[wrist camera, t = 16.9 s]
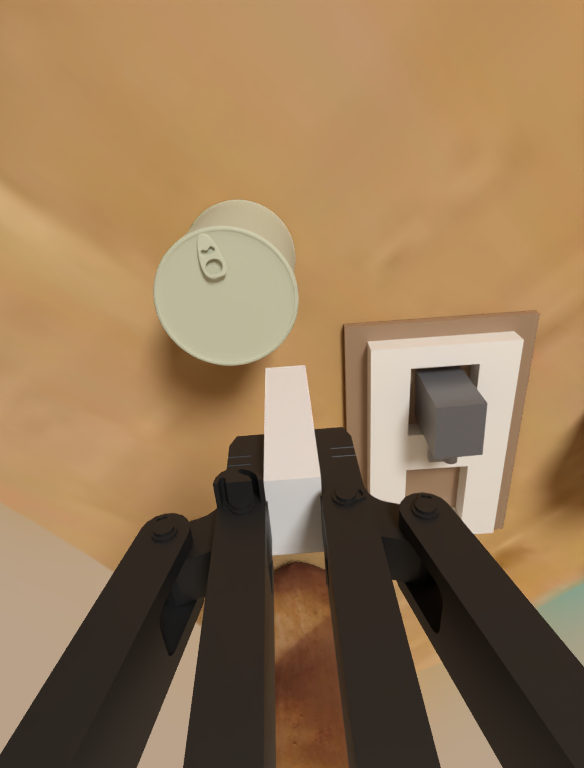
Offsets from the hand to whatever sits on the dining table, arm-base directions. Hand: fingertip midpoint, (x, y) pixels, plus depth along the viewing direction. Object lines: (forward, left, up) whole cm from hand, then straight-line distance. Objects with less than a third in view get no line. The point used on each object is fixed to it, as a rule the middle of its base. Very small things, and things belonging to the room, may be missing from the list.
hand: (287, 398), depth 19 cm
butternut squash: (-1, -39, -25) cm, 46 cm away
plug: (+13, -14, -24) cm, 31 cm away
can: (-4, 0, -25) cm, 25 cm away
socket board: (+13, -19, -25) cm, 34 cm away
